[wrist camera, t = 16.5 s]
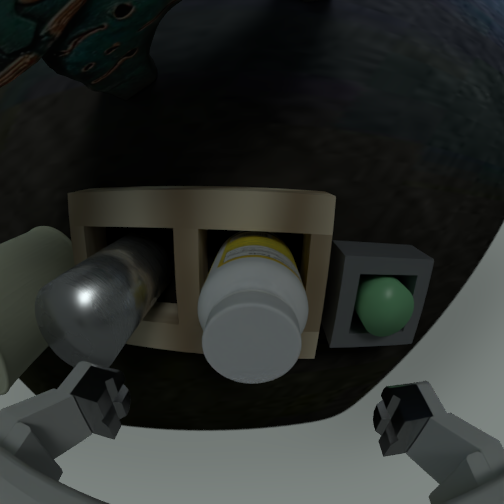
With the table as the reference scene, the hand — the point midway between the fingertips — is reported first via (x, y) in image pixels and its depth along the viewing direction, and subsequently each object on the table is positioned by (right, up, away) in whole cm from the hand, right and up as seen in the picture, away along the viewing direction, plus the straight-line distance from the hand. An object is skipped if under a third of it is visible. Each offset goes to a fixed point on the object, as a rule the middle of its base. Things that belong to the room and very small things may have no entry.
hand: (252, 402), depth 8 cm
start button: (+9, +2, +11) cm, 14 cm away
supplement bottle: (0, +4, +13) cm, 13 cm away
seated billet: (-8, +4, +13) cm, 15 cm away
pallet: (-4, +4, +13) cm, 14 cm away
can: (-18, +2, +14) cm, 23 cm away
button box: (+9, +2, +13) cm, 15 cm away
